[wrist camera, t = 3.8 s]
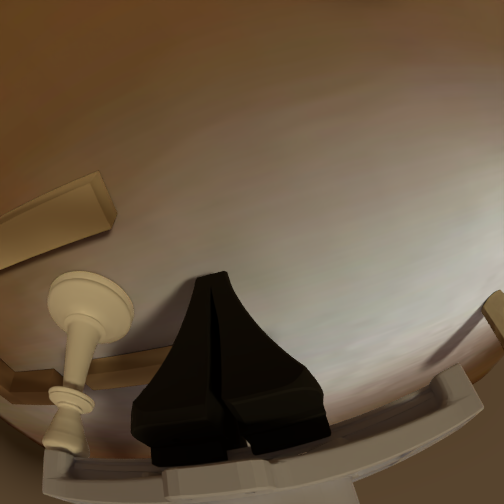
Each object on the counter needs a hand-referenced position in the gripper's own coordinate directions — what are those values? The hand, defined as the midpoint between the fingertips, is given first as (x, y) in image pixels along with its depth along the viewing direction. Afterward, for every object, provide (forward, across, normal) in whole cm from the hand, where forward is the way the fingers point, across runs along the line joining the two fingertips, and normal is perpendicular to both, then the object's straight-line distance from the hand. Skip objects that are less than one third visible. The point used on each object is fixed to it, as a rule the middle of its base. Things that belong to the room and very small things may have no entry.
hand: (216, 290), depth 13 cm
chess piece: (+1, +7, 0) cm, 7 cm away
